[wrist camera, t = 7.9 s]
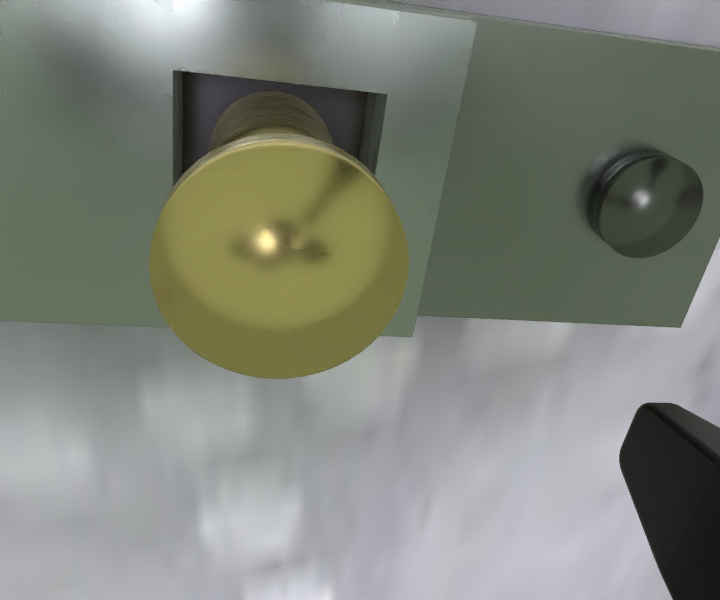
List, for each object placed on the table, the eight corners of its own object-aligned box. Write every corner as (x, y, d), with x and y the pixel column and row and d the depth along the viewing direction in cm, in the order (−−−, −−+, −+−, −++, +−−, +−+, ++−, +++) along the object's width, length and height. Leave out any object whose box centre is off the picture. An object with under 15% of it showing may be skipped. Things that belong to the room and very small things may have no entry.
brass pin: (365, 76, 17) (430, 160, 11) (343, 235, 19) (387, 381, 13) (186, 55, 16) (145, 133, 10) (185, 224, 18) (150, 375, 12)
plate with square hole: (763, 54, 18) (857, 77, 15) (659, 308, 22) (719, 363, 19) (-379, -107, 13) (-553, -117, 10) (-254, 260, 17) (-355, 325, 14)
